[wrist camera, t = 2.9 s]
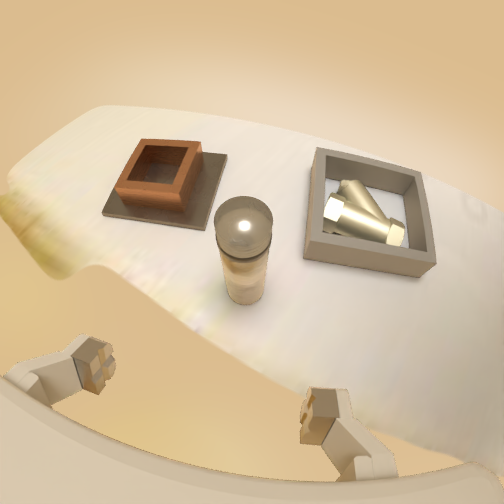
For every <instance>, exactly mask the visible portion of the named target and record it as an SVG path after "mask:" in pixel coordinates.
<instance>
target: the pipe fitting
mask: <svg viewBox="0 0 504 504" xmlns="http://www.w3.org/2000/svg"><path fill="white" fill-rule="evenodd" d="M323 231H325V232H328V233H330V234H331V233H333V232H336V233H338V234H340V235H343V236H347V237H352V238H357V239H363V240H368V241H373V242H379V243H384V244H389V245H394V246H399V247H400V246H401V243H402V241H403V237H404V233H405V226H404V225H403V223H402V222H400V221H398V220H395V219H393V218H390V219H388V218H386V216H385V215H384V213H383V212H382V210H381V209H380V207H379V206H378V205H377V203H376V202H375V200H374V199H373V197H372V196H371V195H370V193H369V192H368V191H367V189H366V188H365V186H364V185H363V184H362V182H361V181H359V180H352V181H351V180H342V181H341V182H340V186H339V189H338V191H337V193H336V194H335V193H333V192H332V193H330V196H329V199H328V201H327V204H326V206H325V209H324V216H323Z"/></svg>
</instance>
